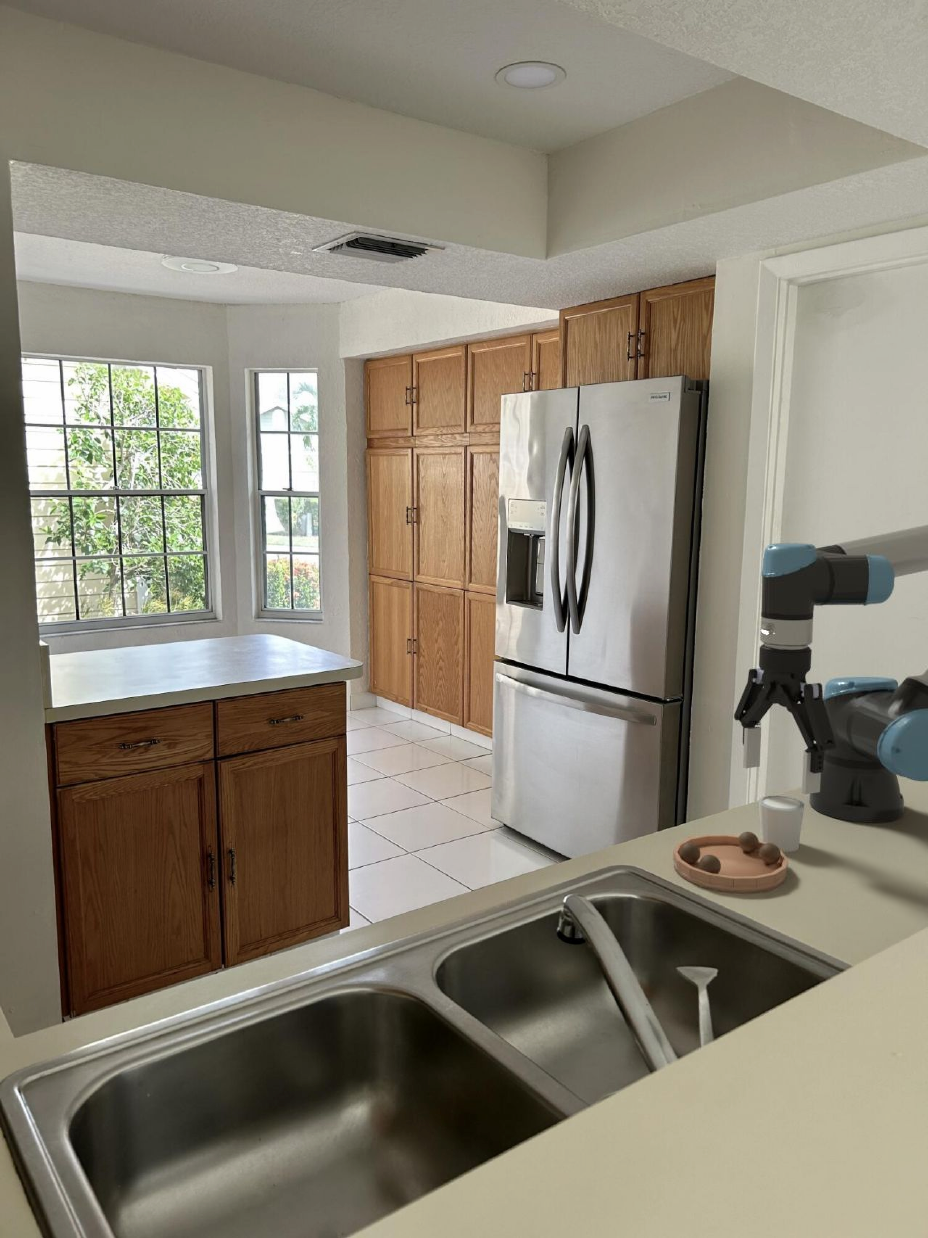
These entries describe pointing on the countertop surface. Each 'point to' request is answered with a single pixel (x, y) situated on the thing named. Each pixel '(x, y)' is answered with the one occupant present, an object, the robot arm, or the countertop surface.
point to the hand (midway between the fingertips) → (779, 779)
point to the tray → (731, 866)
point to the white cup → (781, 821)
